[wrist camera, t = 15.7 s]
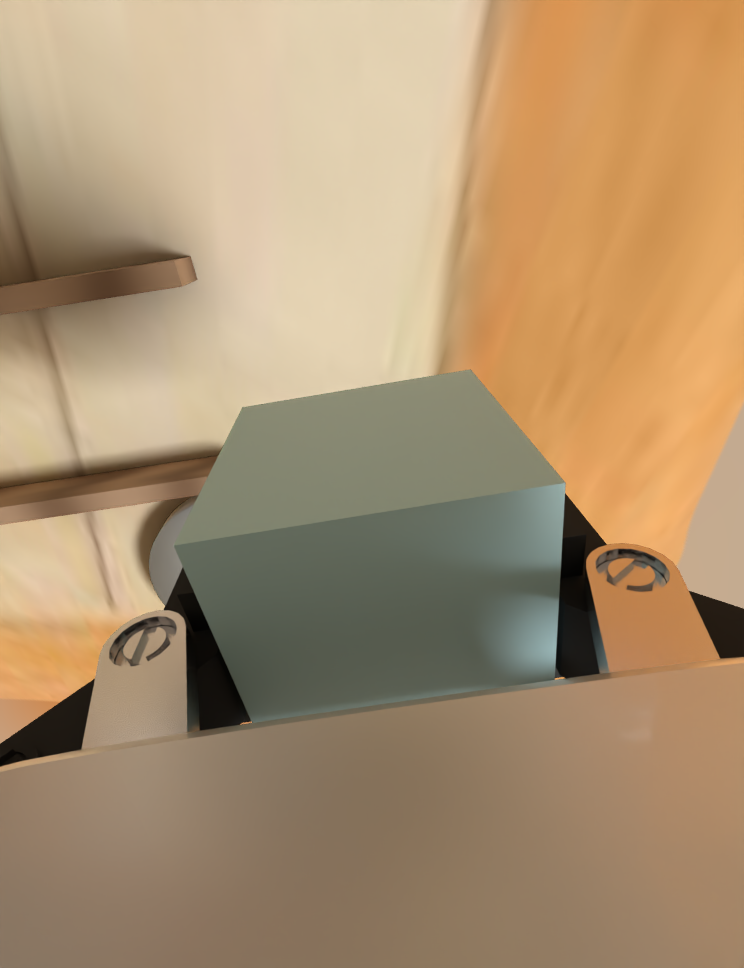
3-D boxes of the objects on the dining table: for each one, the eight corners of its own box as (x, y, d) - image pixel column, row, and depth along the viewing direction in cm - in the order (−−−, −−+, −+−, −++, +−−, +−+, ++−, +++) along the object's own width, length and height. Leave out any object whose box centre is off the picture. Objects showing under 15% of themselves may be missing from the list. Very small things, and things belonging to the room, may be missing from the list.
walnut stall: (190, 256, 22) (174, 260, 20) (251, 467, 28) (244, 488, 25) (-215, 320, 22) (-275, 331, 20) (-76, 516, 28) (-112, 541, 26)
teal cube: (470, 369, 10) (565, 483, 6) (479, 552, 13) (552, 726, 8) (242, 407, 10) (173, 545, 6) (295, 582, 13) (272, 768, 9)
